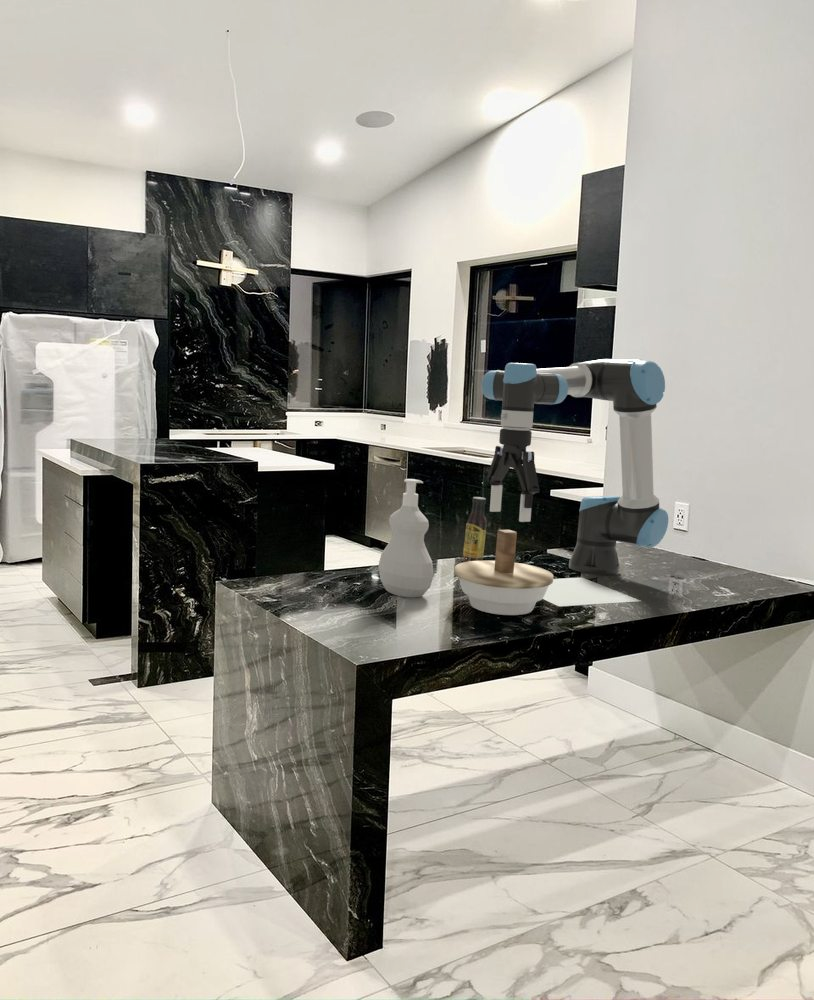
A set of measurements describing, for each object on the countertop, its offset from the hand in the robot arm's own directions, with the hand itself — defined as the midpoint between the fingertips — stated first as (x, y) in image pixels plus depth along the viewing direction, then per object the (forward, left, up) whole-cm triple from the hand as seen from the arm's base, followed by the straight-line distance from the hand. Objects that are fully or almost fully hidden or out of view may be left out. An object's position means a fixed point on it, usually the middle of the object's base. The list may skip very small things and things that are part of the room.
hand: (509, 516), depth 209 cm
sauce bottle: (-20, -50, -23) cm, 58 cm away
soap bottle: (+18, -18, -23) cm, 35 cm away
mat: (-28, -10, -23) cm, 37 cm away
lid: (0, 0, -15) cm, 15 cm away
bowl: (0, 0, -23) cm, 23 cm away
